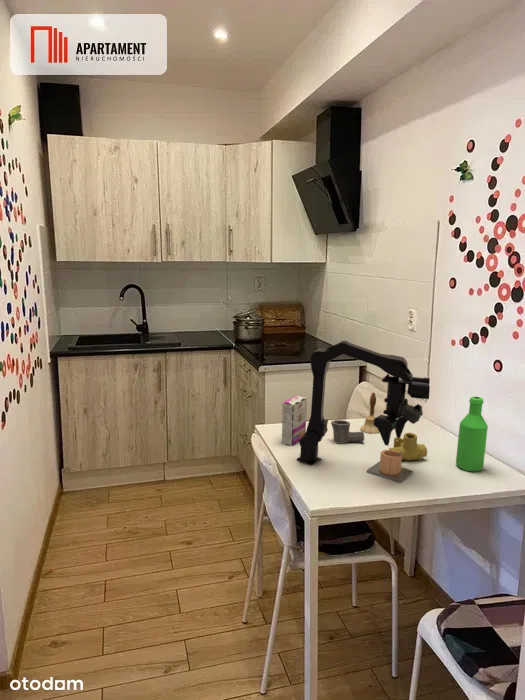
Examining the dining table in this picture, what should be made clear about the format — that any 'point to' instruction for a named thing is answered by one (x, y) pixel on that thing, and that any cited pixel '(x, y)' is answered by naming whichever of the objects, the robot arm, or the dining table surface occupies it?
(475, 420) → the bottle
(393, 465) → the collar
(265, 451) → the dining table surface
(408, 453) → the ball valve
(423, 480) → the dining table surface
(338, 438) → the pipe
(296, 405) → the candy bar box
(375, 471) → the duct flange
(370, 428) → the hand bell
